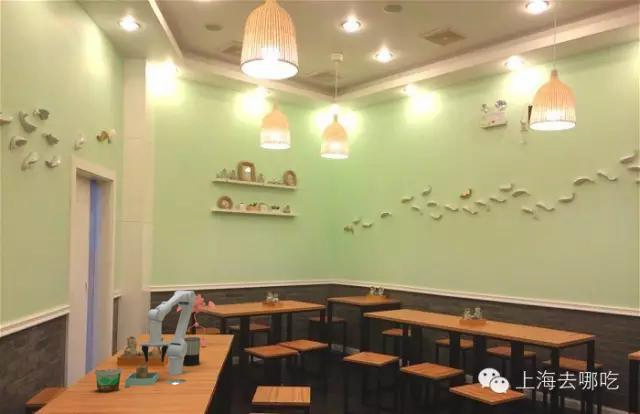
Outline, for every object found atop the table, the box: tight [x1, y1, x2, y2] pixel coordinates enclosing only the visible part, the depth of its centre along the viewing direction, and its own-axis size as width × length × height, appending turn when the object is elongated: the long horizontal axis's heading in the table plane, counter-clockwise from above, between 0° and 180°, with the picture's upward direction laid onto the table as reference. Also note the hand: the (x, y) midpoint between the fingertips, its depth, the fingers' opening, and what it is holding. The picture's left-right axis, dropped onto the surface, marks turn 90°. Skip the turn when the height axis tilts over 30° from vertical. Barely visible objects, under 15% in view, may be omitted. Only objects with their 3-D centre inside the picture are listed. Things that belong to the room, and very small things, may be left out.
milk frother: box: [183, 336, 202, 367], centre depth 319 cm, size 14×16×15 cm
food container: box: [94, 367, 123, 393], centre depth 263 cm, size 12×6×10 cm, turn 105°
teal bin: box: [124, 371, 160, 388], centre depth 277 cm, size 13×13×4 cm
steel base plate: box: [164, 378, 187, 385], centre depth 278 cm, size 10×10×1 cm
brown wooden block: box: [135, 364, 149, 379], centre depth 277 cm, size 5×6×8 cm
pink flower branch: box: [176, 293, 216, 347], centre depth 370 cm, size 15×26×35 cm, turn 88°
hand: (154, 361), depth 281 cm, fingers open, 7 cm apart
